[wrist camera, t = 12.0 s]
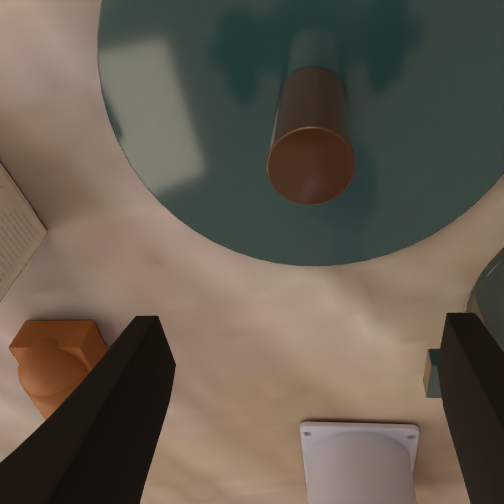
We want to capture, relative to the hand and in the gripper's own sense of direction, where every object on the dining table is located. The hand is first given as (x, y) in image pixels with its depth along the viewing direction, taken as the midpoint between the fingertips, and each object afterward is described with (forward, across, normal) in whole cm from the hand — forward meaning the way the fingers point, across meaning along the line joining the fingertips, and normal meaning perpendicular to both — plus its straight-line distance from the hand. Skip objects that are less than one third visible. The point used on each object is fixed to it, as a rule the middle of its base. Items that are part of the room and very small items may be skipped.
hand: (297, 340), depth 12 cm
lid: (+10, 0, -3) cm, 10 cm away
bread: (+10, +16, +14) cm, 24 cm away
